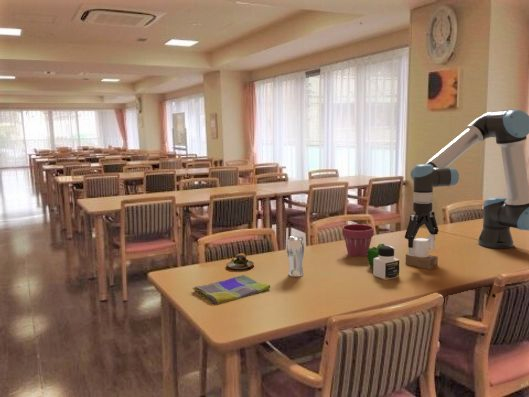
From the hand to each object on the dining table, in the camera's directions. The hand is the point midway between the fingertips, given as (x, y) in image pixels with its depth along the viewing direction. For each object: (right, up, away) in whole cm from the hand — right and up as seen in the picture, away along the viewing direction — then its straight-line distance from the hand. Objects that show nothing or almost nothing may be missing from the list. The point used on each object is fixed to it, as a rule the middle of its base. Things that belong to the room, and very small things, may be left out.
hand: (421, 252), depth 191 cm
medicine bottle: (-18, -8, -13) cm, 24 cm away
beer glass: (-53, -8, -7) cm, 54 cm away
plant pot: (-23, -4, +20) cm, 30 cm away
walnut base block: (0, -5, +1) cm, 6 cm away
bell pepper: (-19, -6, -1) cm, 20 cm away
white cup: (0, -2, 0) cm, 2 cm away
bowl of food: (-76, -8, +5) cm, 77 cm away
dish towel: (-78, -12, -24) cm, 83 cm away
